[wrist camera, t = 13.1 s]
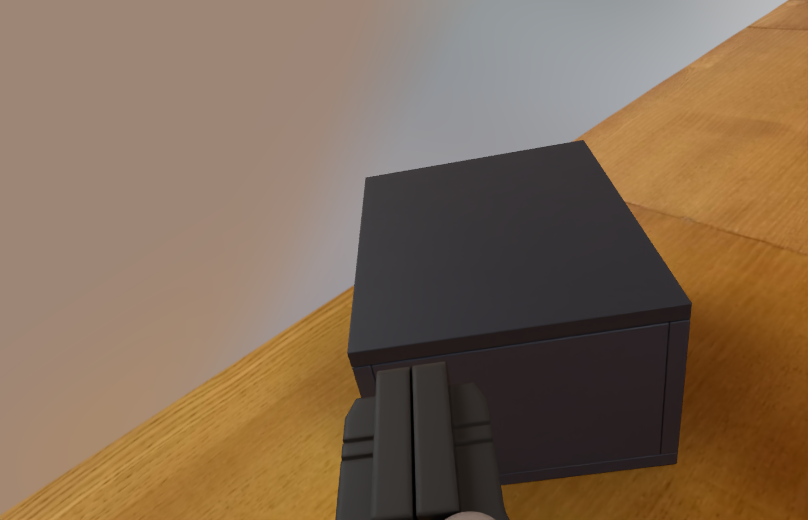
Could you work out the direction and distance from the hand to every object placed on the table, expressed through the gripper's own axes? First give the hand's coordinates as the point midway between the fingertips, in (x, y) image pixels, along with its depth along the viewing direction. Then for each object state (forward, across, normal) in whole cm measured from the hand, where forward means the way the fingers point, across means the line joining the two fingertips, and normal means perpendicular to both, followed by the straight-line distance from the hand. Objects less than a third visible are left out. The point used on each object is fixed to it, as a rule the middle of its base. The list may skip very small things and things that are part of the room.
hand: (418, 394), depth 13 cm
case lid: (+17, -3, +7) cm, 19 cm away
